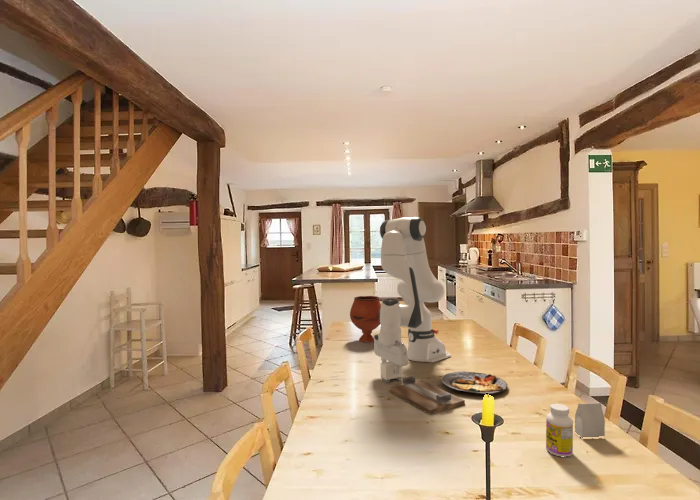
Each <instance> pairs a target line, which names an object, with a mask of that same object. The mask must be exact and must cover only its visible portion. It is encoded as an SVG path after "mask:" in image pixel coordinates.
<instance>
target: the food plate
mask: <svg viewBox="0 0 700 500" xmlns="http://www.w3.org/2000/svg"><path fill="white" fill-rule="evenodd" d="M441 382H442V384H444V385H445V386H447V387H449V388H451V389H452V390H457V391H459V392H460V391H463V392H465V393H472V394H473V393H475V394H483V395H485V394H486V393H488V394H486V395H493V394H499V393H502V392H504V391H506V390H507V389H508V383H507V382H506V381H505V380H504V379H502V378H501V377H498V376H497V375H492V374H490V373H489V374H487V373H483V372H482V373H481V372H476V371H465V370H463V371H453V372H449V373H445V374H444V375H443V376H442V378H441Z"/></svg>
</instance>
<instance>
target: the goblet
mask: <svg viewBox="0 0 700 500" xmlns="http://www.w3.org/2000/svg"><path fill="white" fill-rule="evenodd" d="M381 303H382V302H380V297H379V296H377V295H376V296H375V295H365V296H364V295H362V296H361V295H360V296H359V295H358V296H355V297H354V298H353V301H352V305H351V307H350V310H349V317H350V320H351V323H352V324H353V325H354V326H355V327H356V328H358V329H359V330H360V331H361V333H362V335H361V336H360V337H359V339H358V341H359V342H362V343H374V341H375V339H374V335H372V333H373V331H374V330H376V329H377V328H378V327H379V326H381V323H380V322H379V310H380V309H381Z"/></svg>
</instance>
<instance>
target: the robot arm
mask: <svg viewBox="0 0 700 500" xmlns="http://www.w3.org/2000/svg"><path fill="white" fill-rule="evenodd" d="M426 233H427V224H426V222H425V220H424V219H423V218H422V217H419V216H413V217H410V216H409V217H406V216H405V217H400V218H394V219H386V220H384V221H383V222H382V223H381V225H380V227H379V235H380V237H381V239H382V240H381V248H380V264H381V265H380V266H381V268H382V270H383V272H385V273H386V274H387V275H389V276H392V277H393V278H395V279H399V282H398V284H397V293H398V296H400V297H401V299H402V300H403V302H404V304H400V300H398V299H396V298H386V299H383V300H382V301H381V302H380V303H381V309H380V310H379V322H380V323H381V324H380V330H379V333H376V334H373V338H374V341H373V343H374V344H373V349H374V355H376V356H377V357H379V358H380V360H381V363H383V362H388V361H390V362H392V363H394V364H395V366H396V367H395V369H394V374H399V369H400V367H402V368H403V367H406V366H408V364H409V361H414V362H426V363H436V362H439V361H441V360H444V359H447V358H450V357H451V353H450V352H448V351H447V349H446V346H445V343H444V342H443V341H441V340H440V339H439V338H438V337H437V336H435V334H436V335H438V334H439V330H438V329H435V328H434V329H433V327H432V325H433V324H432V323H433V322H432V320H433V318H432V316H433V315H432V313H431V311H430V310H429V309H428V308H427V306H426V305H425V303H431V304H432V303H438V302H440V301H441V300H443V297H444V295H445V289H444V285H443V284H442V282H441V281H439V279H437V278H436V277H435V275H434V274H433V272H432V270H431V268H430V264H429V259H428V253H427V248H426V242H425V239H424V237H425V236H426ZM401 327H403V328H404V327H405V328H408V329H407V330H408V331H407V337H408V342H407V343H408V345H407V346H406V345H405V343H404V342H402V328H401Z"/></svg>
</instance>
